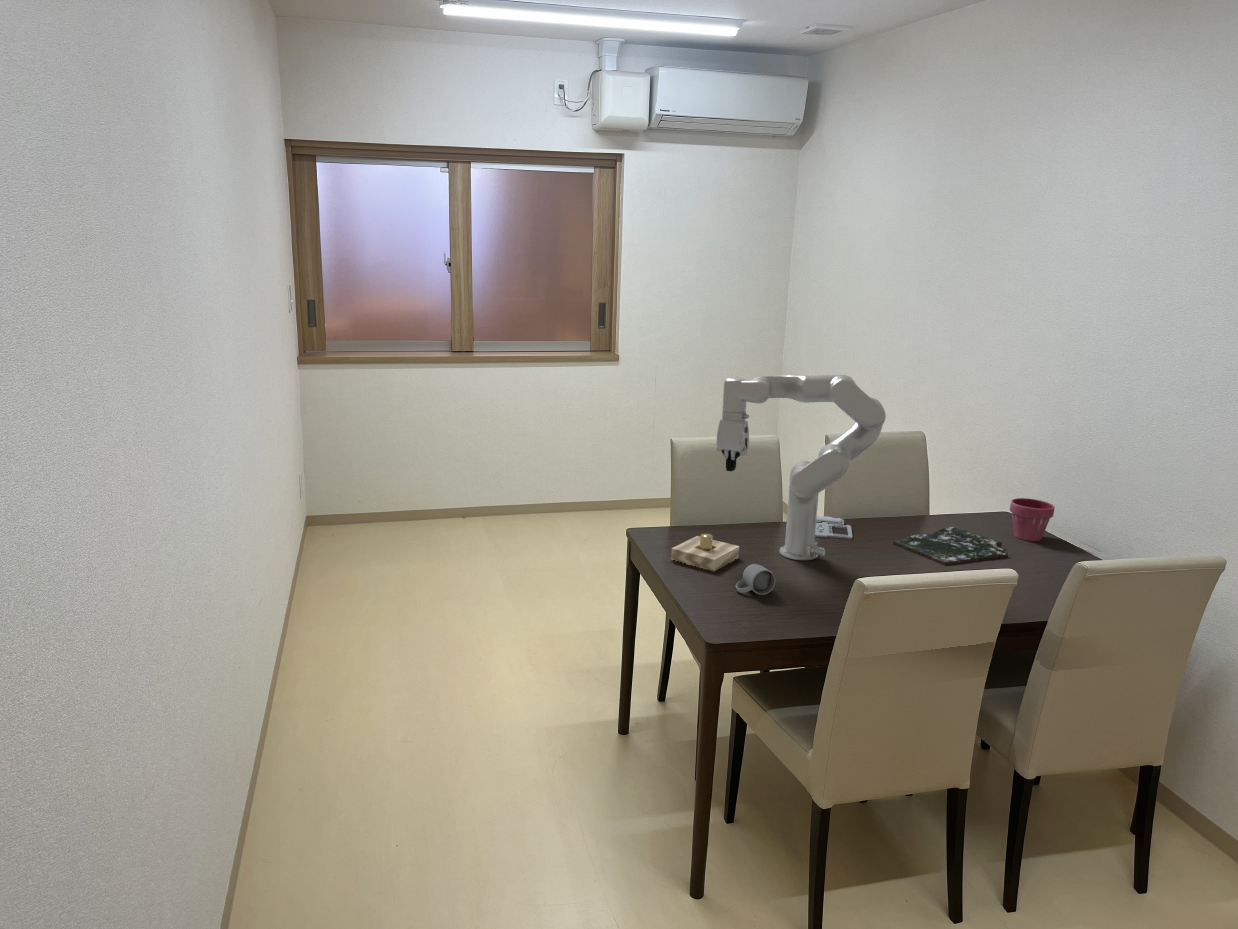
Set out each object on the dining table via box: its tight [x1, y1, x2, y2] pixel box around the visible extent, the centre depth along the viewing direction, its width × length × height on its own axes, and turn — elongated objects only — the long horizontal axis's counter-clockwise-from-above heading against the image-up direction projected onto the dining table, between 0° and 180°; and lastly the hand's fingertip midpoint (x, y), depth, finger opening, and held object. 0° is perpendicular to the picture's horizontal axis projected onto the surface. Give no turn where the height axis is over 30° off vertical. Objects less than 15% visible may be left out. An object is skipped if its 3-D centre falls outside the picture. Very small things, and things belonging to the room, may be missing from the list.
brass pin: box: [699, 533, 714, 551], centre depth 278 cm, size 4×4×8 cm
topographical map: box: [892, 526, 1009, 566], centre depth 295 cm, size 26×33×3 cm
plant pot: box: [1009, 497, 1055, 542], centre depth 308 cm, size 14×14×13 cm
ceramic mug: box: [735, 563, 776, 596], centre depth 254 cm, size 11×8×8 cm
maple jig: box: [670, 535, 740, 572], centre depth 279 cm, size 16×16×4 cm
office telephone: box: [815, 515, 853, 540], centre depth 314 cm, size 23×3×20 cm
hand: (730, 470), depth 284 cm, fingers closed
